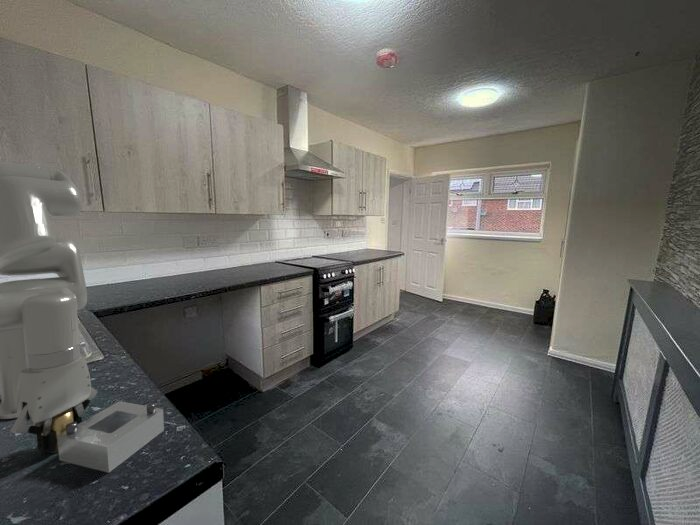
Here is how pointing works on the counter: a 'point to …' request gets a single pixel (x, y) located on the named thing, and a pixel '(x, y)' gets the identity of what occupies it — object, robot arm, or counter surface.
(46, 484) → the counter surface
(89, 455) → the jig
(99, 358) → the counter surface
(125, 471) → the counter surface
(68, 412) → the brass cylinder
